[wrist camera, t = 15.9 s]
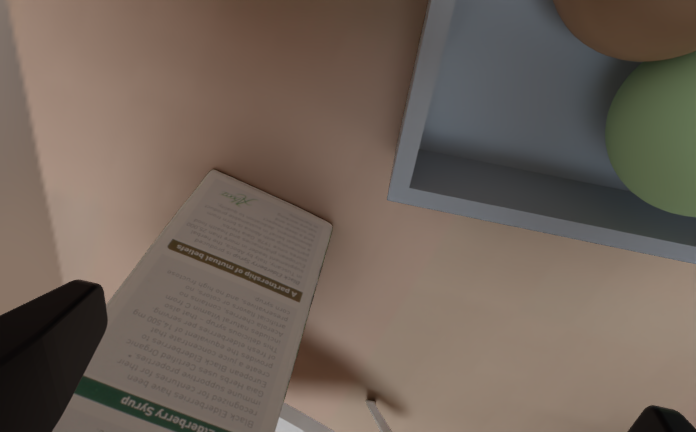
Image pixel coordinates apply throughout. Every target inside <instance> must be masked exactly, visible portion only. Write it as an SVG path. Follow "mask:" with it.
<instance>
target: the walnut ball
mask: <svg viewBox="0 0 696 432" xmlns="http://www.w3.org/2000/svg"><path fill="white" fill-rule="evenodd" d="M553 3H554V5H555V8H556V10H557V12H558V14H559V16H560V17H561V19H562V21H563V22H564V24H565V26H566V27H567V28H568V29H569V30H570V32H571V33H572V34H573V35H574V36H575V37H576V38H577V39H579V40H580V41H581V42H582V43H584V44H585V45H587V46H588V47H590V48H592V49H593V50H595V51H596V52H599V53H601V54H604V55H606V56H609V57H613V58H617V59H621V60H626V61H635V62H651V61H659V60H667V59H672V58H676V57H680V56H684V55H686V54H689V53H692V52H695V51H696V0H553Z"/></svg>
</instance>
